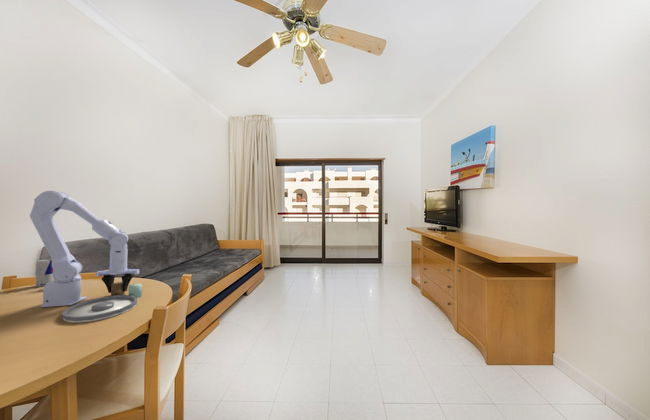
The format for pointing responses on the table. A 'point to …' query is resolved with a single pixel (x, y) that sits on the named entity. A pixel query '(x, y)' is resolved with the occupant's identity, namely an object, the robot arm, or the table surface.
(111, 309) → the groove tray
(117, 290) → the walnut bead
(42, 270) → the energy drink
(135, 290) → the mint green cylinder
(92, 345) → the table surface
